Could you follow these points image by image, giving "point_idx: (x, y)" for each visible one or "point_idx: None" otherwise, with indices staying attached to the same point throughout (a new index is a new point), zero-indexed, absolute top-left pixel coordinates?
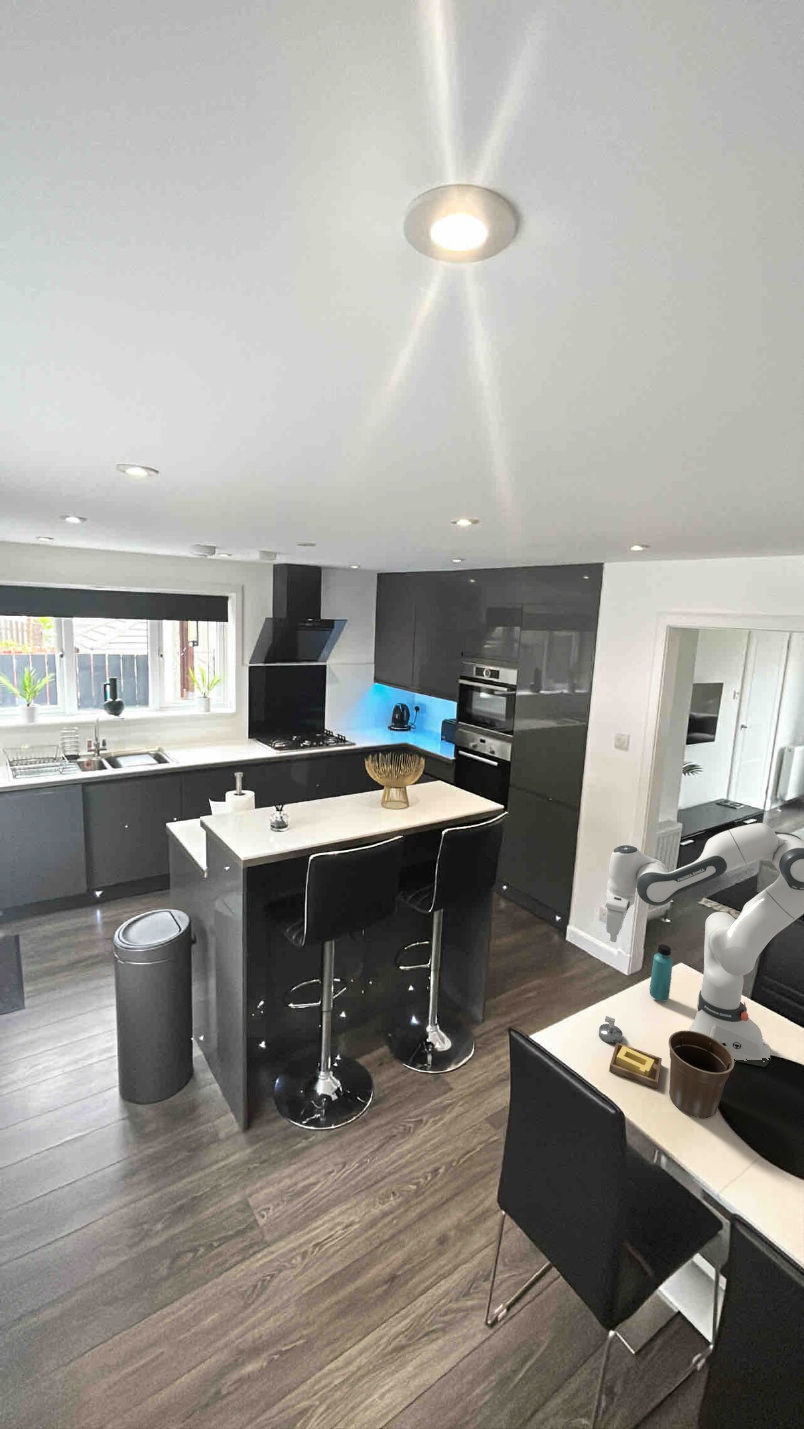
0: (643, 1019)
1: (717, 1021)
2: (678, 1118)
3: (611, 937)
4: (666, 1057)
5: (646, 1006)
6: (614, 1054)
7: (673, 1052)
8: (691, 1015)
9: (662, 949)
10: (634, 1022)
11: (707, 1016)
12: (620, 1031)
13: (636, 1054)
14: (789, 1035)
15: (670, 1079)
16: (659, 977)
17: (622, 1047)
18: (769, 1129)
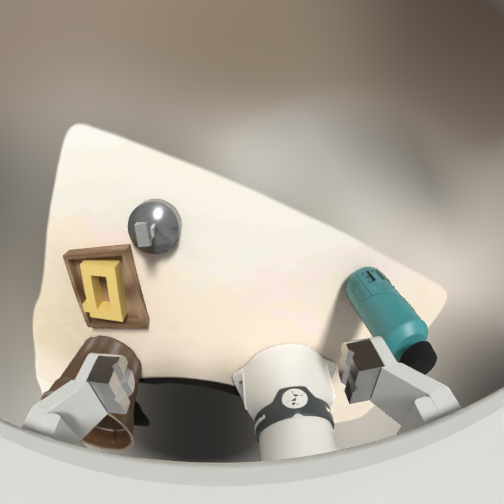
0: (268, 269)
1: (254, 416)
2: (72, 345)
3: (81, 377)
4: (175, 324)
5: (321, 265)
6: (90, 255)
7: (42, 395)
8: (333, 336)
9: (410, 366)
10: (244, 256)
11: (260, 406)
12: (167, 247)
13: (111, 294)
14: (343, 420)
15: (80, 354)
16: (366, 316)
17: (108, 268)
18: (142, 415)
